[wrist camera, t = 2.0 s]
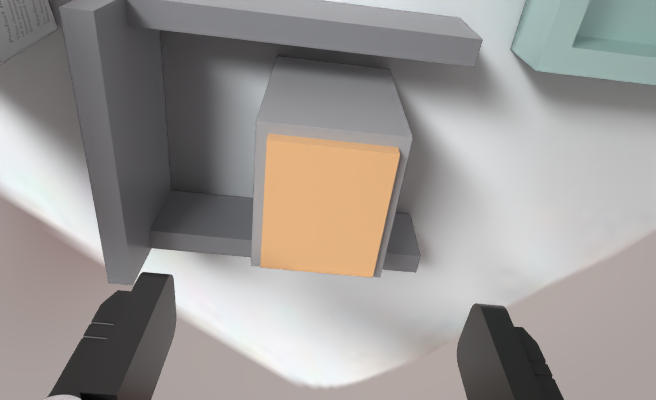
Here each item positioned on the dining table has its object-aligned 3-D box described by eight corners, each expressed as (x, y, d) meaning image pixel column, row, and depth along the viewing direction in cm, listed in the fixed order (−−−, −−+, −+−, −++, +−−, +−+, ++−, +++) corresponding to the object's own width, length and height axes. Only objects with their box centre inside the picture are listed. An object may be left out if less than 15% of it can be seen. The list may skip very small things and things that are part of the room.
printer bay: (130, -24, 19) (58, 6, 14) (460, 18, 20) (504, 60, 15) (153, 204, 25) (108, 283, 20) (406, 229, 26) (424, 310, 21)
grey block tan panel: (276, 55, 21) (254, 127, 14) (389, 69, 21) (415, 144, 15) (270, 174, 24) (249, 274, 18) (367, 184, 24) (381, 286, 18)
